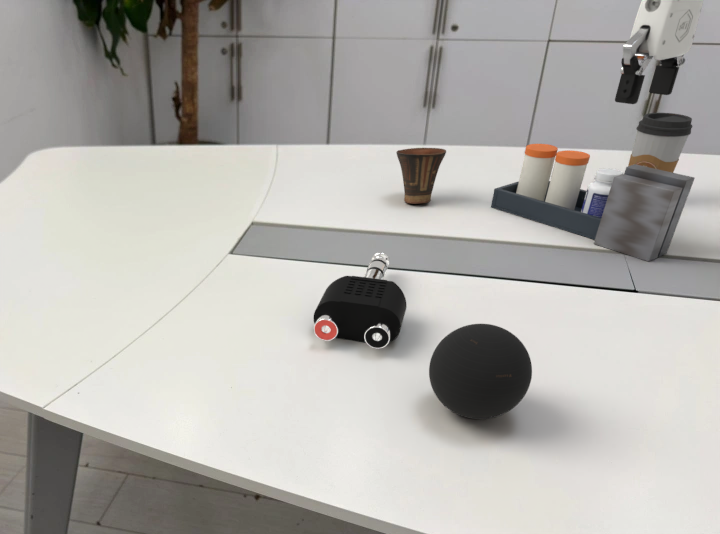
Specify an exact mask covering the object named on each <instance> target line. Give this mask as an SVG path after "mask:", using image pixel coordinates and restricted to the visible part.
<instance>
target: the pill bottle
mask: <svg viewBox="0 0 720 534" xmlns="http://www.w3.org/2000/svg"><path fill="white" fill-rule="evenodd" d="M621 174H624V171H622V170H621V169H617V168H611V167H602V168H598V169H597V170H596V172H595V175H594V180H595V181H592V182H590V183H589V184H588V186H587V189H586V191H587V192H586V195H585V199H584V203H583V206H582V209H581V212H582V213H586V214H589V215H593V216H596V217H600V218H602V215H603V212H604V208H605V205H606V202H607V198H608V195H609V192H610V189H611V185H612V182H613V179H614V177H615V176H618V175H621Z"/></svg>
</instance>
